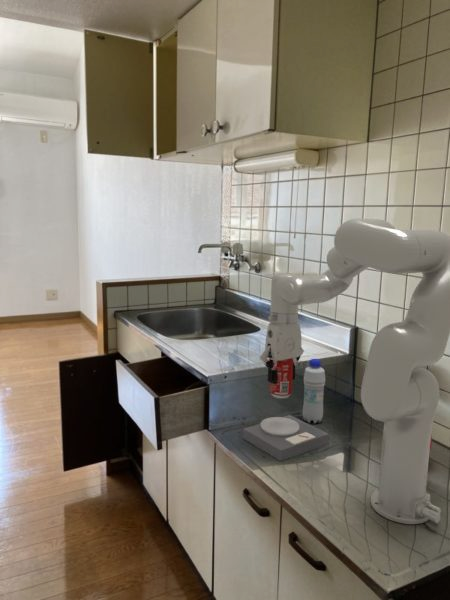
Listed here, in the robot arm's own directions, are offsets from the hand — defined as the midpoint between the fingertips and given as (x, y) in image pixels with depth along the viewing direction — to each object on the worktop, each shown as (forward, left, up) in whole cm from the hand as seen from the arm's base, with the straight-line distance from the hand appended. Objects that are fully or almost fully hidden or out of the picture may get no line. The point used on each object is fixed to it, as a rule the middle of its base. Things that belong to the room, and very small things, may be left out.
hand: (281, 379), depth 135 cm
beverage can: (0, 0, -5) cm, 5 cm away
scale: (-3, 0, -17) cm, 18 cm away
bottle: (+3, -17, -18) cm, 25 cm away
